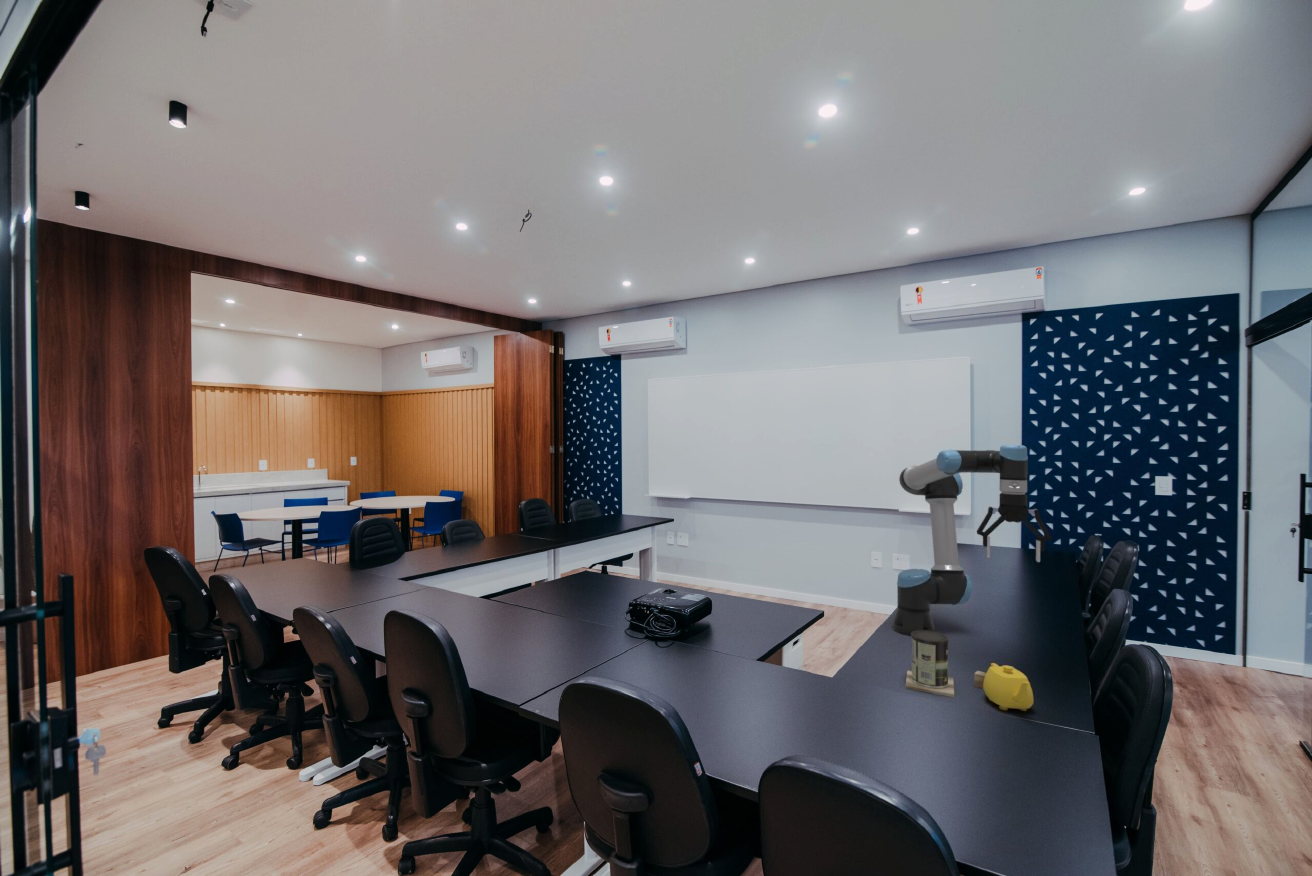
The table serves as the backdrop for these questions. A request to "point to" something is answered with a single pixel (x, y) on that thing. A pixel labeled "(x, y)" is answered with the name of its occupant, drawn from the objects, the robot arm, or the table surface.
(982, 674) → the beech brick
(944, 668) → the coffee can
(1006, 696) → the teapot
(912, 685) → the trivet
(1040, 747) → the table surface
